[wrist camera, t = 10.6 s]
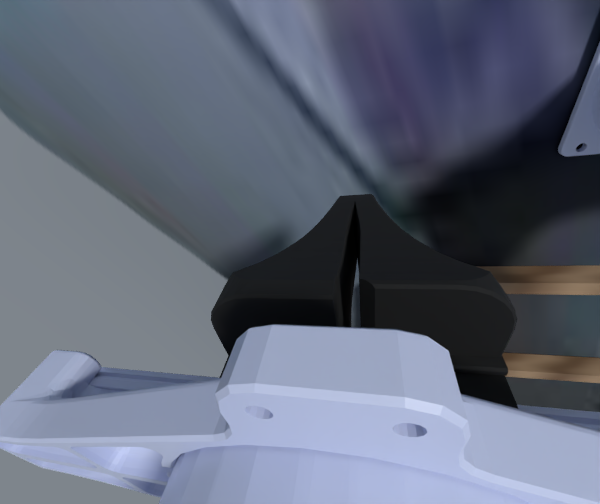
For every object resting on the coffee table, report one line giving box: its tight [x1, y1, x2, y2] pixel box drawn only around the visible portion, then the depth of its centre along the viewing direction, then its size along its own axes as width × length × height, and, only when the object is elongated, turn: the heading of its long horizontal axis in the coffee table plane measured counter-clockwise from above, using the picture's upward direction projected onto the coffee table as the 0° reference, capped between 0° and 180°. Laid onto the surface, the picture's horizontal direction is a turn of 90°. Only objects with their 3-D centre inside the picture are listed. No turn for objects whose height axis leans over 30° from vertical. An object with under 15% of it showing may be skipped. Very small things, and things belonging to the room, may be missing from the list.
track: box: [476, 266, 600, 383], centre depth 26 cm, size 22×13×4 cm, turn 99°
